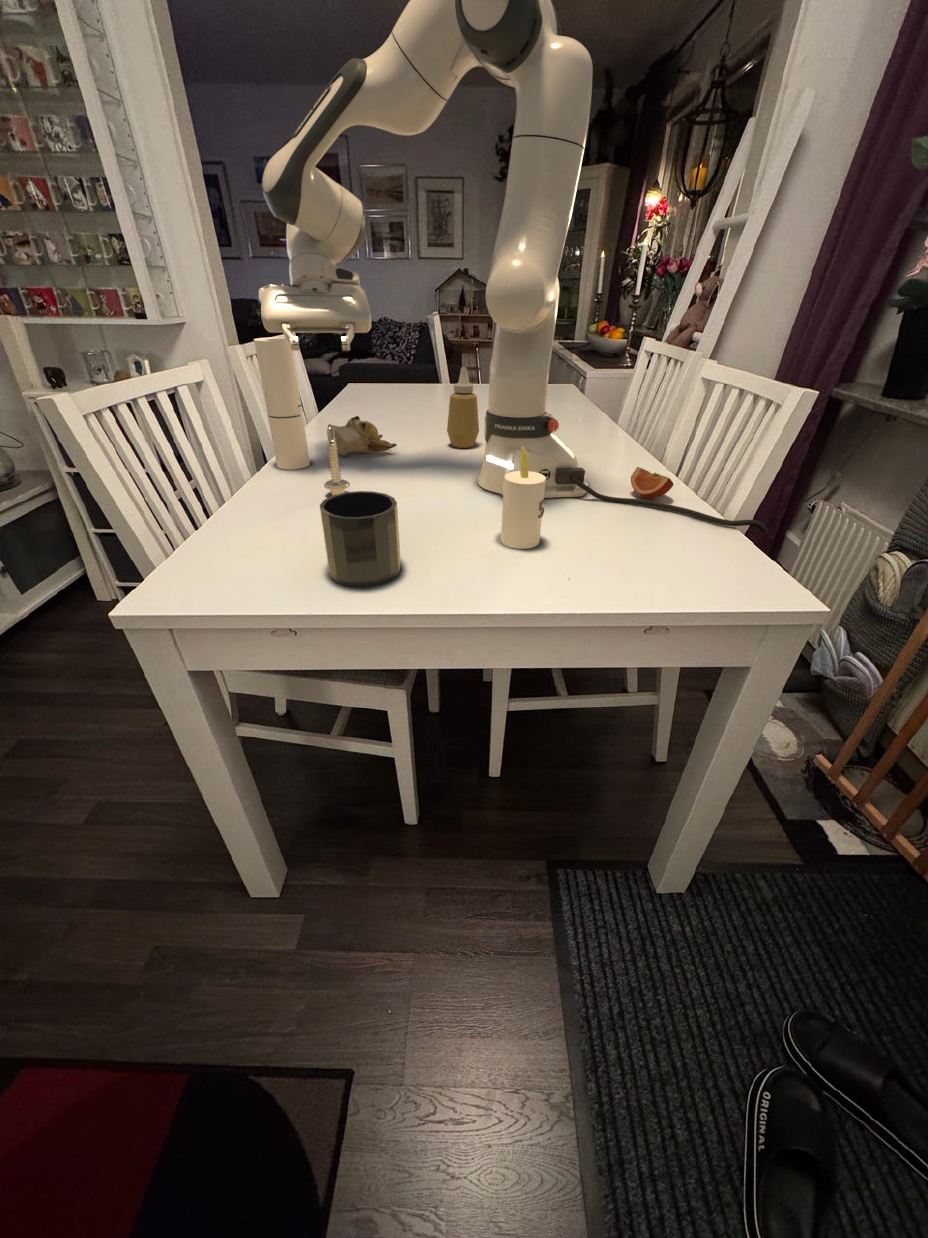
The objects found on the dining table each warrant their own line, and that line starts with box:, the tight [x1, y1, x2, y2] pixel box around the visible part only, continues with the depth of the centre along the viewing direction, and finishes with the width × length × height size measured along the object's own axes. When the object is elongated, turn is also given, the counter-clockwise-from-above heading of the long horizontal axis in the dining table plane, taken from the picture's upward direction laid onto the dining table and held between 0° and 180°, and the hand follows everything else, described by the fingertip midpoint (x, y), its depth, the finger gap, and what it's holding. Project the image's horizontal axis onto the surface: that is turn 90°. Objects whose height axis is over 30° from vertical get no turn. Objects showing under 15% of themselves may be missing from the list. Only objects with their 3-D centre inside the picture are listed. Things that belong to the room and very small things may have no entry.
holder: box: [318, 490, 402, 588], centre depth 73 cm, size 10×10×10 cm
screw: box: [323, 426, 351, 496], centre depth 98 cm, size 13×5×5 cm
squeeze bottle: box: [446, 366, 480, 449], centre depth 127 cm, size 8×8×18 cm
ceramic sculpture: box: [327, 415, 398, 457], centre depth 123 cm, size 11×9×15 cm
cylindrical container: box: [253, 336, 311, 470], centre depth 110 cm, size 7×7×25 cm
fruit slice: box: [630, 466, 674, 500], centre depth 101 cm, size 8×7×5 cm
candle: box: [500, 446, 546, 550], centre depth 81 cm, size 6×6×15 cm
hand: (320, 348), depth 98 cm, fingers open, 8 cm apart
